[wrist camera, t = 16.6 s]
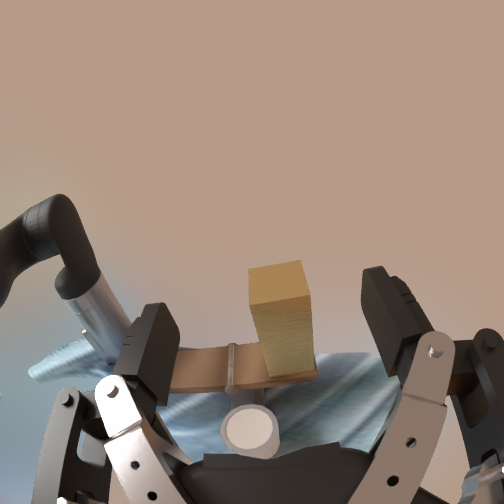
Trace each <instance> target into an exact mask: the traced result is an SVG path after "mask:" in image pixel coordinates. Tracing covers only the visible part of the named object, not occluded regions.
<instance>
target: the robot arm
mask: <svg viewBox="0 0 504 504" xmlns="http://www.w3.org/2000/svg"><path fill="white" fill-rule="evenodd" d="M59 254H60V255H61V257H62V259H63V262H64V264H65V267H64V268H63V269H62V270H61V271H60V272H59V274H58V275H57V277H56V279H55V288H56V290H57V292H58V293H59V295H60V296H61V298H62V299H63V301H64V302H65V304H66V305H67V307H68V308H69V310H70V311H71V313H72V314H73V315H74V317H75V318H76V320H77V321H78V322H79V324H80V325H81V327H82V333H83V335H84V337H85V338H86V339H87V340H88V342H89V343H90V344H91V345H92V347H93V348H94V349H95V350H96V352H97V353H98V354H99V355H100V356H101V357H102V359H103V360H104V361H105V362H106V363H107V364H110V363H116V365H115V367H114V370H113V373H112V375H110V376H107V377H105V378H104V379H102V380H101V382H100V383H99V384H98V386H97V388H96V390H92V391H87V392H84V393H81V392H80V391H78V390H77V389H76V388H75V387H73V386H68V387H65V388H63V389H62V390H61V391H60V392H59V393H58V395H57V397H56V400H55V402H54V405H53V408H52V412H51V415H50V418H49V421H48V425H47V428H46V432H45V436H44V439H43V443H42V447H41V451H40V456H39V460H38V466H37V470H36V476H35V481H34V487H33V494H32V502H31V504H108V501H109V489H110V481H111V472H112V466H113V468H114V470H115V472H116V474H117V477H118V479H119V481H120V483H121V485H122V487H123V489H124V491H125V493H126V495H127V497H128V499H129V500H130V502H131V504H449V503H447V502H446V501H444V500H442V499H440V498H438V497H437V496H435V495H433V494H432V493H430V492H428V491H427V490H425V489H423V488H421V487H420V486H419V485H420V483H421V481H422V479H423V477H424V475H425V472H426V470H427V468H428V466H429V463H430V460H431V458H432V455H433V453H434V450H435V448H436V445H437V442H438V439H439V436H440V434H441V430H442V427H443V424H444V421H445V417H446V413H447V406H446V405H445V398H446V396H448V395H450V397H451V400H452V403H453V406H454V409H455V412H456V415H457V419H458V422H459V425H460V429H461V432H462V436H463V440H464V443H465V448H466V452H467V456H468V461H469V465H470V470H469V472H468V473H467V475H466V476H465V478H464V481H463V484H462V491H463V492H462V496H461V499H460V502H459V503H458V504H504V340H503V339H502V337H501V336H500V335H499V333H497V332H496V331H494V330H492V329H488V328H485V329H481V330H479V331H478V332H477V333H476V335H475V337H474V339H473V340H460V341H452V339H451V338H450V337H449V336H448V335H446V334H444V333H442V332H438V331H435V330H434V329H433V327H432V326H431V323H430V322H429V320H428V318H427V317H426V315H425V313H424V312H423V310H422V308H421V307H420V305H419V303H418V302H416V299H415V297H414V296H413V294H411V291H410V289H409V288H408V286H407V285H406V283H405V282H404V281H402V280H401V279H399V278H398V277H397V276H392V277H389V275H388V274H387V272H386V270H385V269H384V267H382V266H378V267H372V268H367V269H364V270H363V276H362V290H361V306H362V310H363V313H364V316H365V318H366V320H367V323H368V325H369V328H370V330H371V333H372V335H373V338H374V340H375V343H376V345H377V348H378V350H379V353H380V356H381V359H382V361H383V364H384V367H385V369H386V372H387V375H388V377H391V376H395V375H398V378H399V381H400V386H399V388H398V391H397V394H396V396H395V399H394V401H393V403H392V406H391V408H390V411H389V413H388V415H387V417H386V420H385V422H384V424H383V426H382V428H381V430H380V432H379V433H378V435H377V437H376V439H375V441H374V443H373V445H372V447H371V449H370V450H369V452H368V453H367V452H364V451H362V450H357V449H353V448H340V445H339V442H335V443H330V444H325V445H319V446H313V447H307V448H303V449H301V450H298V451H295V452H292V453H290V454H287V455H284V456H281V457H278V458H275V459H270V460H268V459H261V458H255V457H249V456H244V455H239V454H204V458H203V460H201V461H198V462H195V463H193V462H192V461H191V460H190V459H189V457H188V456H187V455H186V454H185V453H184V452H183V451H182V450H181V449H180V448H179V446H178V445H177V443H176V442H175V440H174V439H173V437H172V436H171V434H170V432H169V431H168V429H167V427H166V426H165V424H164V422H163V421H162V419H161V417H160V415H159V414H158V413H157V412H156V411H155V410H156V406H167V401H168V395H169V390H170V385H171V380H172V375H173V370H174V365H175V361H176V356H177V351H178V347H179V342H180V333H179V329H178V327H177V325H176V323H175V321H174V319H173V317H172V316H171V314H170V312H169V310H168V308H167V306H166V304H165V303H163V302H161V303H153V304H147V305H145V307H144V309H143V312H142V314H141V317H137V318H136V320H135V321H134V322H133V323H131V321H130V320H129V318H128V316H127V315H126V313H125V312H124V310H123V309H122V307H121V305H120V304H119V302H118V301H117V299H116V297H115V295H114V294H113V292H112V290H111V288H110V287H109V285H108V283H107V282H106V280H105V278H104V276H103V274H102V272H101V271H100V269H99V267H98V265H97V262H96V258H95V255H94V252H93V249H92V247H91V244H90V242H89V240H88V238H87V235H86V233H85V230H84V228H83V225H82V223H81V220H80V217H79V215H78V212H77V210H76V208H75V206H74V204H73V203H72V201H71V200H70V199H69V198H68V197H66V196H65V195H63V194H57V195H54V196H52V197H50V198H48V199H46V200H44V201H42V202H40V203H38V204H37V205H35V206H33V207H31V208H29V209H28V210H27V211H25V212H24V213H23V214H21V215H20V216H19V217H17V218H16V219H15V220H14V221H12V222H11V223H9V224H8V225H7V226H5V227H4V228H2V229H1V230H0V308H1V307H2V305H3V304H4V303H5V301H6V299H7V297H8V294H9V292H10V289H11V286H12V284H13V281H14V280H15V278H16V277H17V276H18V275H19V274H21V273H22V272H23V271H24V270H26V269H28V268H29V267H30V266H32V265H34V264H36V263H38V262H40V261H43V260H46V259H48V258H51V257H53V256H56V255H59ZM81 430H83V431H84V432H86V435H85V440H84V445H83V450H82V455H81V459H80V458H79V457H78V455H77V446H78V441H79V437H80V432H81Z"/></svg>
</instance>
